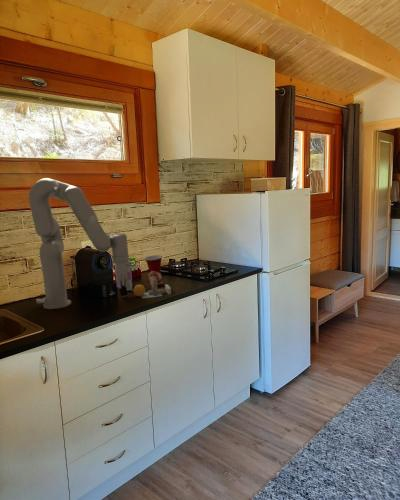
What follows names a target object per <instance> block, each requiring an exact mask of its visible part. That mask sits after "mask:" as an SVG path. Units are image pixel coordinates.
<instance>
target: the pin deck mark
mask: <svg viewBox="0 0 400 500" xmlns="http://www.w3.org/2000/svg"><path fill="white" fill-rule="evenodd" d="M140 297H141V299H150V298H158V297H163V294H158V295H157V296H153V295H149V293H148V291H145V293H144V295H143V296H140Z"/></svg>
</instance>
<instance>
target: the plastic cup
mask: <svg viewBox="0 0 400 500" xmlns="http://www.w3.org/2000/svg"><path fill="white" fill-rule="evenodd" d="M162 258H163V256H162V255H160V254H155V255H154V254H153V255H149V256H146V257H144V260H145V261H146V265H147V268H148V271H149V273H150V272H151V271H155V272H158V273H161V267H162Z"/></svg>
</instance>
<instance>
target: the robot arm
mask: <svg viewBox="0 0 400 500" xmlns="http://www.w3.org/2000/svg"><path fill="white" fill-rule="evenodd" d="M50 198H53V199H56V200H60V201H63V202H66V203H67V205H68V207H69V208H70V209H71V211H72V213H73V214H74V216H75V218H76V219H77V220H78V223H79V224H80V225H81V227H82V229H83V231H84V233H86V235H87V238H89V240H90V242H91V243H92V245H93V246H94V248H95V249H96V250H97V251H98V252H102V253H106V252H107V251H109V250H110V249H111V252H112V262H113V264H114V267H115V266H116V273H115V279H116V278H117V283H119V282H120V289H119V291H120V292H119V294H120V297H123V296H128V291H127V287H126V282H127V264H126V262H129V260H130V258H129V249H128V247H129V246H128V236H127V234H126V233H114V234H110V233H109V234H107V233H106V232H105V230H104V229H103V227H102V226H101V224H100V221H99V219H98V216H97V213H96V212H95V210H94V208H93V207H92V205H91V204H90V203H89V201H88V199H87V198H86V196H85V194H84V191H83V189H81V187H78V186H75V185H72V184H69V183H66V182H62V181H59V180H56V179H54V178H53V179H52V178H49V177H44V178H40V179H39V180H37V181H36V182H35V183H34V184H33V185H32V186H31V187H30V189H29V193H28V203H29V207H30V211H31V217H32V221H33V224H34V228H35V229H34V230H35V233H36V234H37V235H38V236H39V237H40V239H41V243H42V244H41V245H40V247H39V252H38V253H39V258H40V264H41V270H42V276H43V287H44V293H45V297H43V298H36V301H35V302H36V304H39V305H40V304H42V305H43V306H42V308H44V309H45V310H55V309H56V310H57V309H63V308H66V307H68V306H70V305H71V304H72V300H70V299H68V293H67V284H66V283H67V282H66V274H65V267H64V262H63V261H64V260H63V252H64V249H65V245H64V240H63V236H62V232H61V228H60V225H59V222H58V221H57V219H55V217H54V216H53V213H52V208H51V204H50ZM117 283H116V284H117Z"/></svg>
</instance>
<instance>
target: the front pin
mask: <svg viewBox="0 0 400 500" xmlns="http://www.w3.org/2000/svg"><path fill="white" fill-rule="evenodd" d="M157 291H158V294H162V295H163V294H167V292H166V290H165V288H159V289H158V288H157ZM147 292H148V293H149V295H153V290H148V291H147Z"/></svg>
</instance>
